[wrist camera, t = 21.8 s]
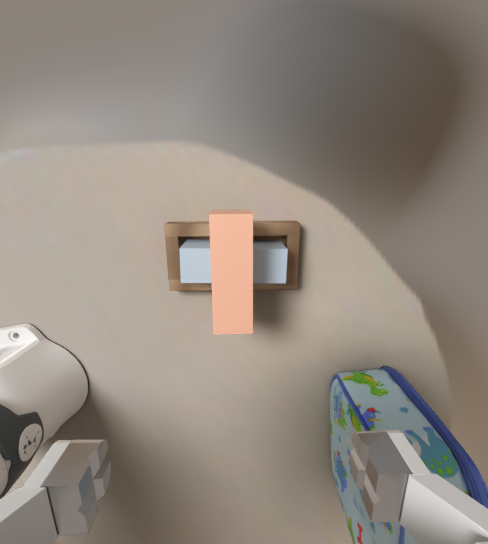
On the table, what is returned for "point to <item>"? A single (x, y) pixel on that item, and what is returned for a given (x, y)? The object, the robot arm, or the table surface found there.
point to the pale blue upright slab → (265, 261)
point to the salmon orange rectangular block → (232, 271)
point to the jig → (261, 231)
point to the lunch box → (391, 416)
